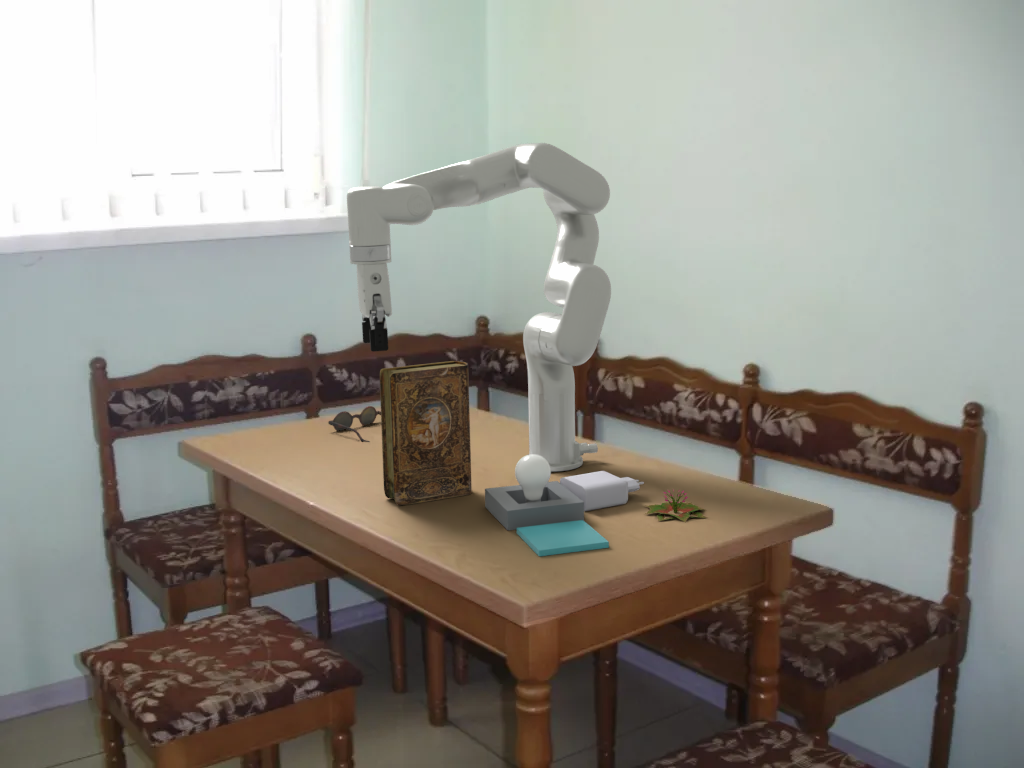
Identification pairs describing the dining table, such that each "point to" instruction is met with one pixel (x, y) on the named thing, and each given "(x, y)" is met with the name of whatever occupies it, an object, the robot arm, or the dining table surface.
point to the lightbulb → (532, 476)
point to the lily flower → (675, 508)
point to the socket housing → (533, 506)
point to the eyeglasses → (346, 419)
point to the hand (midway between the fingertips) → (375, 346)
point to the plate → (562, 538)
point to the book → (425, 432)
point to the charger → (600, 489)
